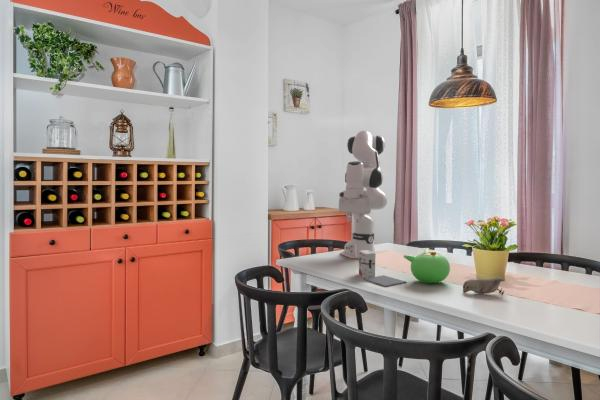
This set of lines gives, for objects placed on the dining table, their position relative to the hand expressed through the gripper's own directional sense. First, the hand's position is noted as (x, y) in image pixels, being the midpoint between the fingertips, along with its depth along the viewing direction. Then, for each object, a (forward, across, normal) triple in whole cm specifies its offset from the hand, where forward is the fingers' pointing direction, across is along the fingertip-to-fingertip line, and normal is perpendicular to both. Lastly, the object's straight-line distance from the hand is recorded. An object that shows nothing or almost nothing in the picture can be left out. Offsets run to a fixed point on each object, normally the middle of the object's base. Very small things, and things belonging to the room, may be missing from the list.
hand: (354, 221), depth 211 cm
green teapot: (+25, -34, -16) cm, 45 cm away
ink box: (+25, -10, 0) cm, 27 cm away
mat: (+25, -22, +1) cm, 34 cm away
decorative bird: (+26, -58, -20) cm, 67 cm away
